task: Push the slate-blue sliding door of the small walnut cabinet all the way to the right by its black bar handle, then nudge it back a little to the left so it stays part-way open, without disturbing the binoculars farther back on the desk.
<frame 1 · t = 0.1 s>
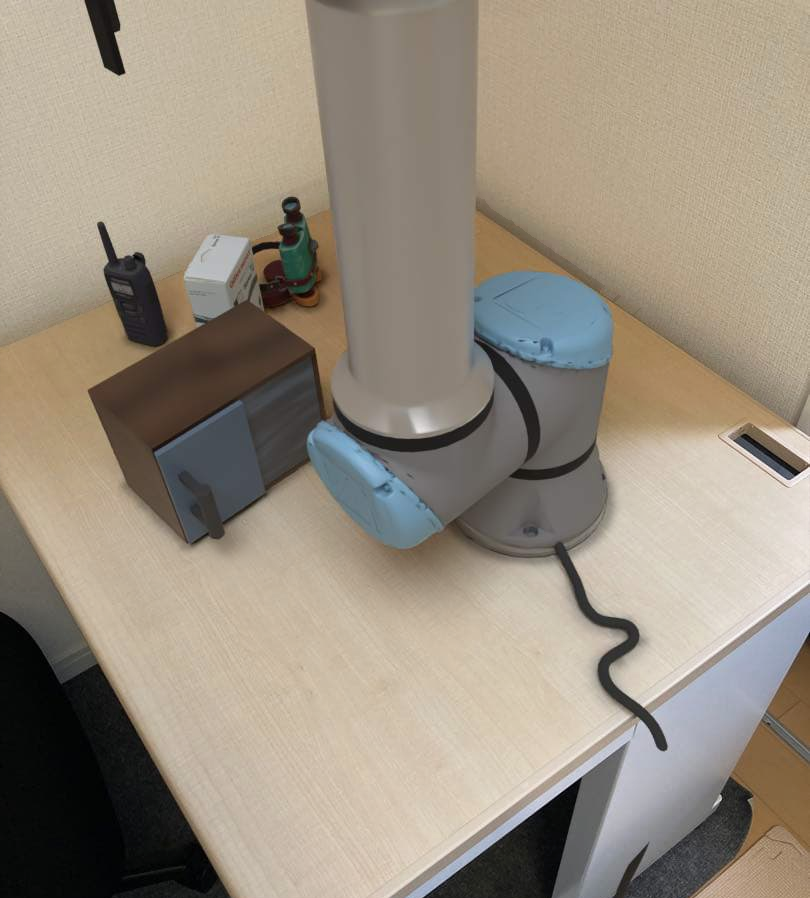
hand: (52, 96, 85), 28 cm above the table, tool pointing down, fingers open, 13 cm apart
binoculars: (284, 292, 111), on the table
sliding door: (227, 486, 82), point 7 cm above the table, slide at 0.0 cm
ink box: (238, 346, 105), on the table
cabinet: (230, 466, 93), on the table
two-way radio: (151, 335, 107), on the table
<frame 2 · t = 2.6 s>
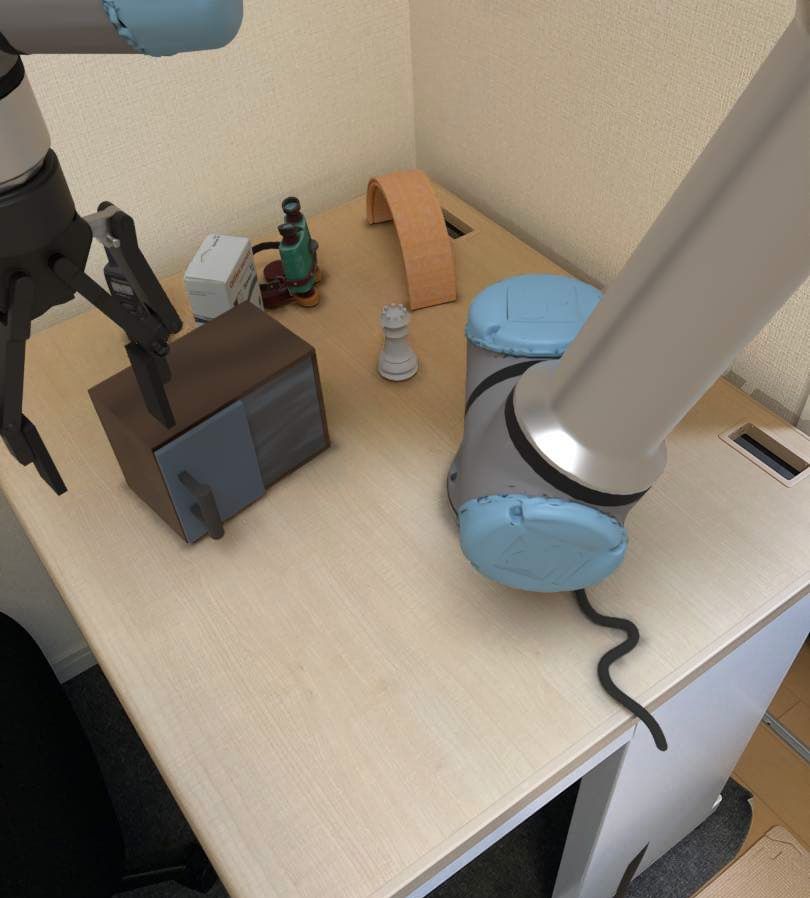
hand: (109, 449, 68), 19 cm above the table, tool pointing down, fingers open, 9 cm apart
nothing on the table moved.
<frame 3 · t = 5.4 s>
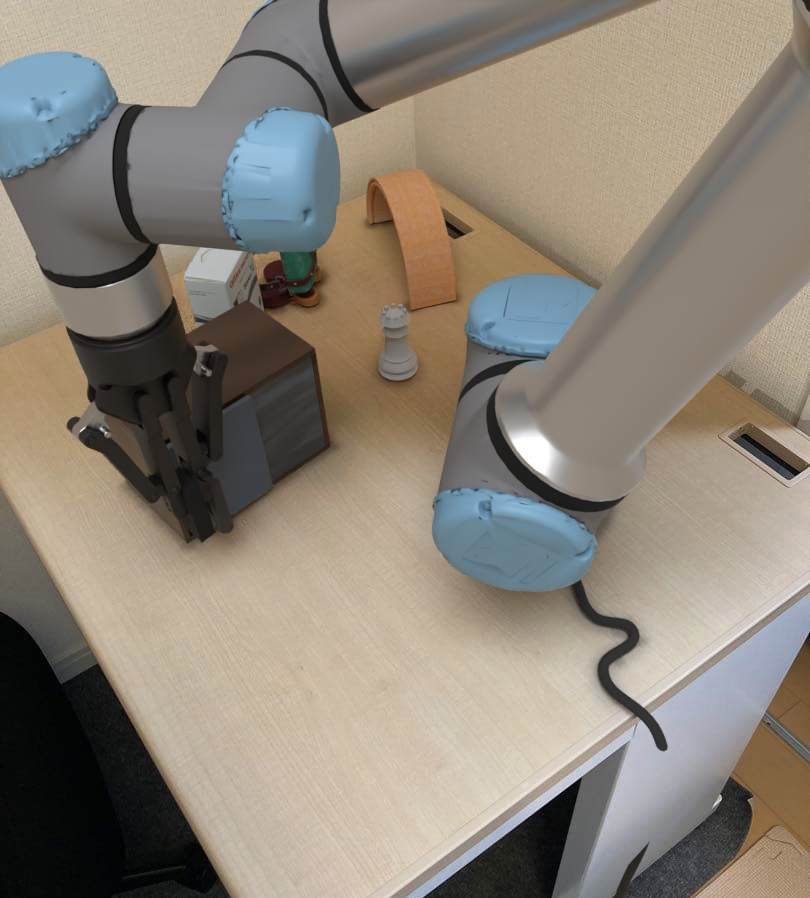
hand: (199, 529, 79), 6 cm above the table, tool pointing down, fingers closed
sliding door: (235, 480, 82), point 7 cm above the table, slide at 1.0 cm, touching gripper
everything else where it was.
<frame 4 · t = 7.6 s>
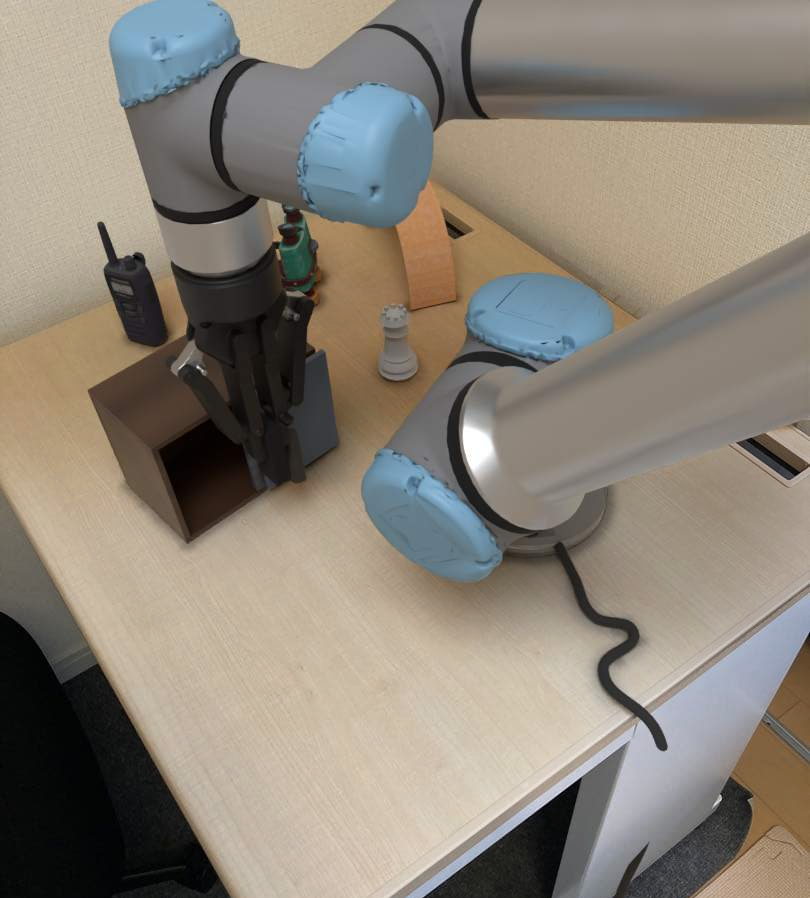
hand: (275, 474, 83), 7 cm above the table, tool pointing down, fingers closed
sliding door: (308, 432, 86), point 7 cm above the table, slide at 9.5 cm
everything else where it was.
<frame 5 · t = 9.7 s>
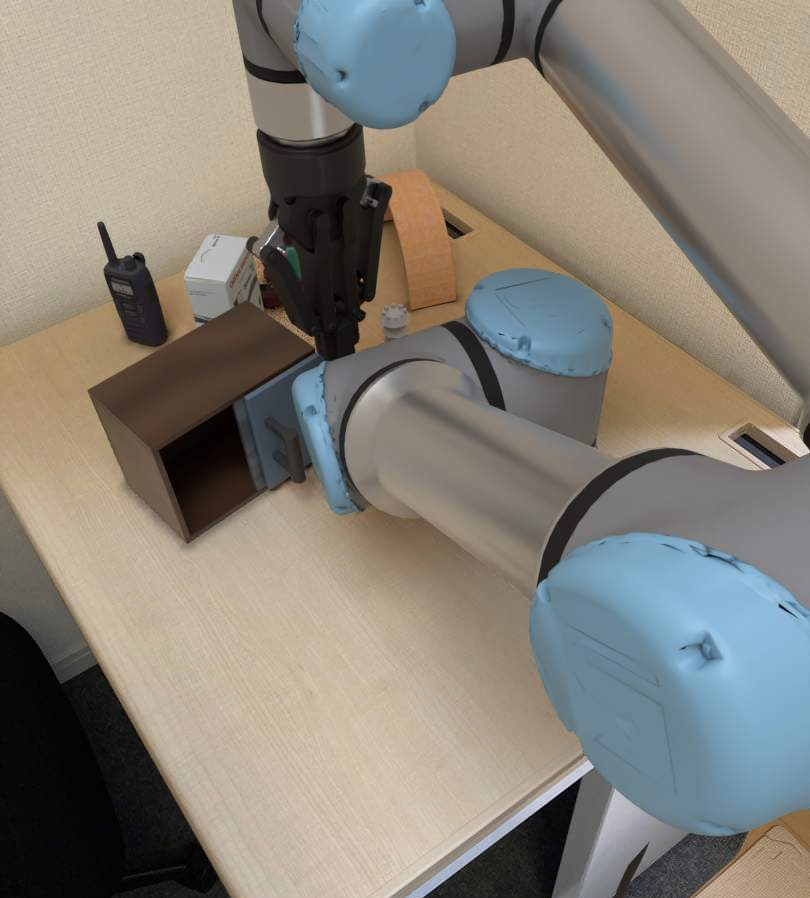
hand: (342, 377, 82), 12 cm above the table, tool pointing down, fingers closed
nothing on the table moved.
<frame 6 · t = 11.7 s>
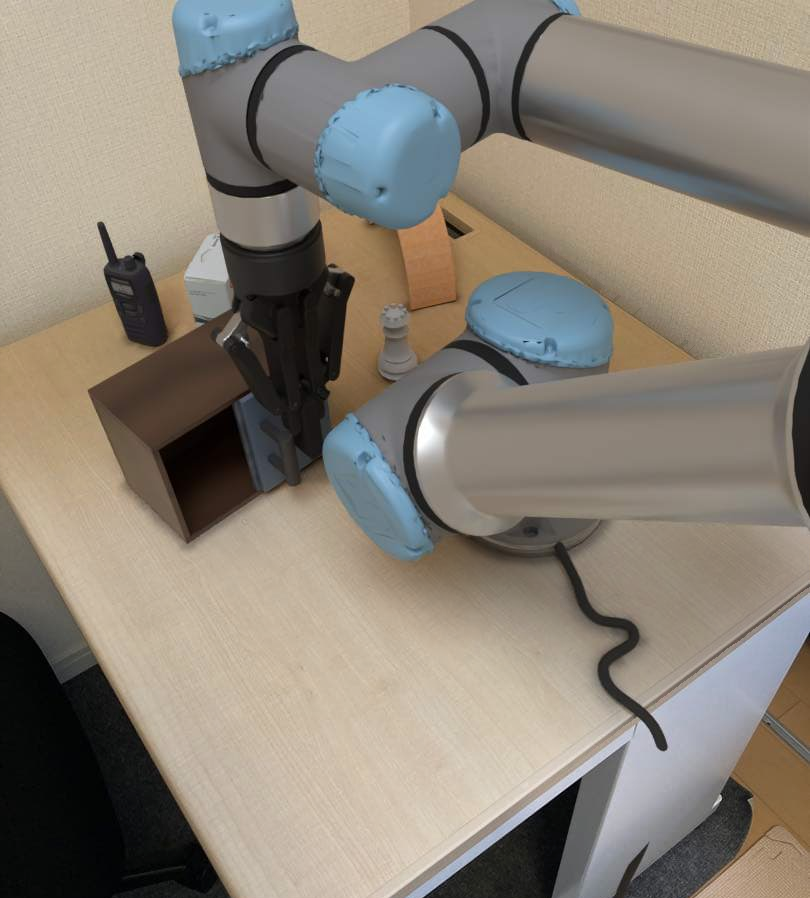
hand: (309, 448, 85), 7 cm above the table, tool pointing down, fingers closed
sliding door: (304, 435, 85), point 7 cm above the table, slide at 8.9 cm, touching gripper
everything else where it was.
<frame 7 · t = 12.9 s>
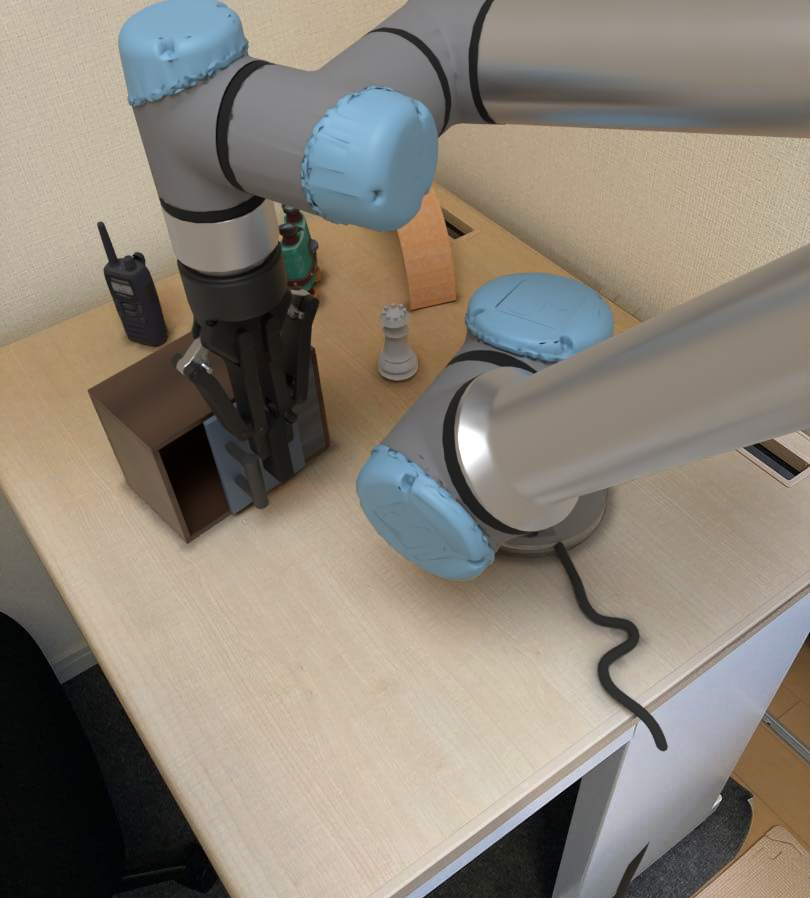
hand: (279, 471, 83), 6 cm above the table, tool pointing down, fingers closed
sliding door: (271, 456, 84), point 7 cm above the table, slide at 5.1 cm, touching gripper
everything else where it was.
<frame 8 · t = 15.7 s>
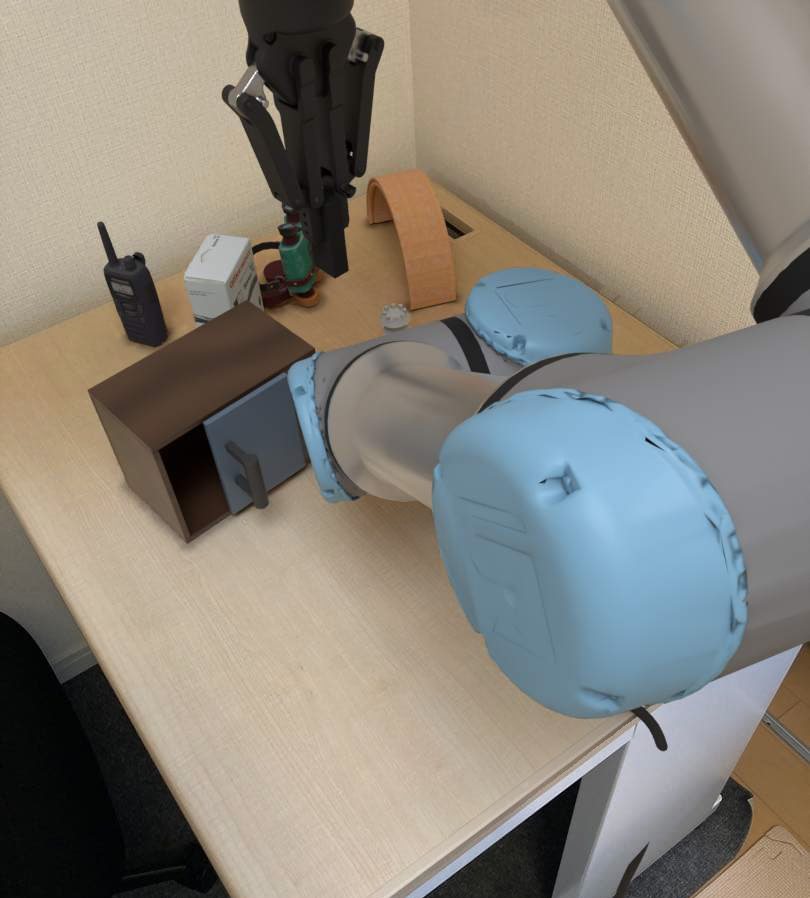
hand: (331, 267, 75), 22 cm above the table, tool pointing down, fingers closed
sliding door: (271, 456, 84), point 7 cm above the table, slide at 5.0 cm
everything else where it was.
at the end: sliding door pulled out 9.5 cm at the most during the clip, back to 5.0 cm at the end; sliding door slide at 5.0 cm; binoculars moved 0.2 cm from its start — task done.
